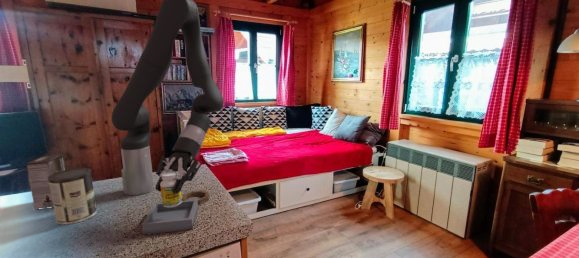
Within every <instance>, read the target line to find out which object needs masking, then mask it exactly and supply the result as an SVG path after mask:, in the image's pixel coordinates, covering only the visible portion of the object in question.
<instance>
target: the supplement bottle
mask: <svg viewBox="0 0 579 258" xmlns="http://www.w3.org/2000/svg"><path fill="white" fill-rule="evenodd" d="M162 180H163V181H162V182H161V183H160V187H161V192H160V193H161V201H162V202H161V203H163V206H164V207H167V208H171V207H176V206H178V205H180V204H181V203H182V198H183V196H182V190H181V191H180V192H179V193H178V194H175V193H173V192H172V189H173V187H174V185H175V183H176V181H177V180H179V179H178V174H177V172H174V171H171V172H166V173H163V174H162Z"/></svg>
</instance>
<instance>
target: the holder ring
mask: <svg viewBox="0 0 579 258" xmlns="http://www.w3.org/2000/svg"><path fill="white" fill-rule="evenodd" d="M197 196H198V197H199V196H202V197H201V198H197V199H198V206H201V205H202V204H204V203H207V202H208V201H209V198H210V192H209V191H206V190H193V191H189V192H186V193H185V194H183V196H182V201H185V200H189V199H190V198H192V197H197Z"/></svg>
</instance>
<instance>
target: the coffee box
mask: <svg viewBox="0 0 579 258" xmlns="http://www.w3.org/2000/svg"><path fill="white" fill-rule="evenodd" d="M25 168H26V172H27V177H28V181H29V187H30V191H31V192H30V193H31V197H32V201H33V206H34V210H35V209H39V208H47V207H54V206H53V201H52V195H51V190H50V185H49V181H48V176H50V175H52V174H54V173H57V172H60V171H64V170H67V167H66V162H65V154H56V155H42V156H41V157H40V156H39V158H36V159H34V160H32V161H29V162H26V163H25ZM39 210H40V209H39Z"/></svg>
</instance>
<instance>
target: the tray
mask: <svg viewBox="0 0 579 258" xmlns="http://www.w3.org/2000/svg"><path fill="white" fill-rule="evenodd" d="M198 199H199V198H197V199H188V200H185V201H182V203H181V204H180V205H178V206H176V207H171V208H167V207H164V206H163V202H155V203H154V204H153V206H152V207H151V209H150V211H149V213H148V214H147V216H146V217H145V218H144V220H143V222H142V224H141V228H142V235H143V236H144V235H150V234H153V235H154V234H159V233H169V232H178V231H179V232H180V231H186V230H193V229H194V226H195V221H196V217H197V214H198V210H199V205H198Z"/></svg>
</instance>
